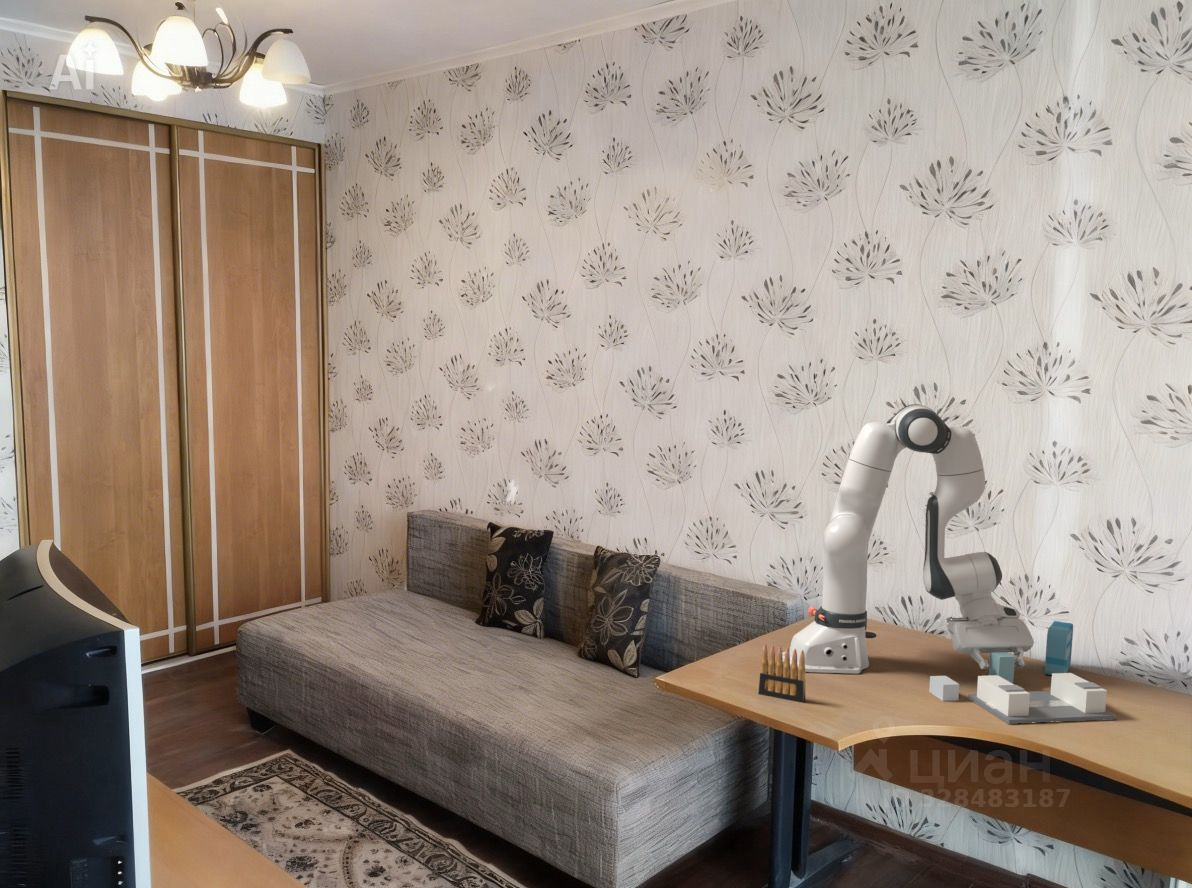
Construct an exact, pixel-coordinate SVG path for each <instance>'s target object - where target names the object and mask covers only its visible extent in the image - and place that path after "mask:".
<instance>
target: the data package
mask: <svg viewBox="0 0 1192 888" xmlns="http://www.w3.org/2000/svg"><path fill="white" fill-rule="evenodd" d="M1073 635H1074V624H1073V623H1070V622H1065V621H1057V620H1054V621H1052V623H1051V625H1050V626H1049V628H1048V629H1047V633H1046V646H1045V660H1044V661H1045V662H1044V674H1045V675H1046V674H1047V675H1048V676H1051V675H1052V673H1069V670H1070V668H1071V664H1072V663H1071V662H1072V649H1073V637H1074V636H1073Z"/></svg>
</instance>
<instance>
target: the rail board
mask: <svg viewBox="0 0 1192 888" xmlns="http://www.w3.org/2000/svg"><path fill="white" fill-rule="evenodd" d="M1027 692H1028V693H1030V699H1029V714H1028V716H1006V715H1005V714H1003V713H1002V712H1000V711H998V710H997V709H996V708H994V707H993V706H991V705H990V704H988V703H986V702H984V701H982V700H981V699H979V698H978V697H977V693H967V699H968V700H970V701H971V702H973V703H974V704H976V705H978V706H979V707H980V708H983V710H985V711H987V712H988V713H990V714H992V715H993V716H995V717H996V716H997V717H996V718H998V719H1000V720H1001V721H1002V722H1004V721H1005V722H1004V723H1006V724H1007V723H1008V724H1007V725H1019V724H1018V723H1030V724H1033V723H1032V722H1051V721H1055V722H1054V723H1057V722H1056V721H1077V722H1087V721H1086V720H1100V721H1104V720H1103V719H1108V720H1107V721H1110V720H1109V719H1115V720H1116V714H1113V713H1112V712H1110V711H1108V710H1107V709H1105V712H1100V713H1084V712H1082V711H1080V710H1079V709H1077V708H1075V707H1073V706H1072V705H1070V704H1069V703H1067V702H1065V701H1063V700H1060V699H1058V698H1057V697H1055V696H1053V695H1051V690H1044V691H1042V690H1041V691H1027Z"/></svg>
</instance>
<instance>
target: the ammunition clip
mask: <svg viewBox="0 0 1192 888" xmlns="http://www.w3.org/2000/svg"><path fill="white" fill-rule="evenodd" d="M789 651H790V647H786V649H785V651H784V652H785V659H784V662H783V658H782V652H783V649H782V646H779V647H778V650H777V653H776V650H775V646H774V644H772V645H771V648H770V651H769V656H768V646H767V644H766V643H764V645H763V648H762V655H761V659H760V660H761V661H760V673H759V682H758V691H757V693H758V695H761V696H766V697H772V698H777V699H780V700H781V699H782V700H786V701H787V700H788V701H792V702H797V703H804V702H805V701H806V672H805V655H804V651H803V650H802V651H801V654H800V660H799V667H798V665H797V651H796V649H794V651H793V655H792V664H791V667H790V652H789ZM776 654H777V656H776ZM768 657H769V659H768Z"/></svg>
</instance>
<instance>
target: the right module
mask: <svg viewBox="0 0 1192 888" xmlns="http://www.w3.org/2000/svg"><path fill="white" fill-rule="evenodd" d="M1050 691H1051V695H1053V696H1055V697H1057V698H1058V699H1060V700H1063V701H1065V702H1067V703H1069V704H1070V705H1072V706H1073V707H1075V708H1077V709H1079V710H1080V711H1082V712H1084V713H1100V712H1105V710H1107V709H1106V708H1107V707H1106V705H1107V693H1108V690H1107V689H1105V688H1102V686H1101V685H1098V684H1097V683H1095V682H1092V681H1089V680H1086V679H1085V678H1082V677H1080V676H1078V675H1076V674H1074V673H1072V672H1067V673H1052V676H1051V682H1050Z"/></svg>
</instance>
